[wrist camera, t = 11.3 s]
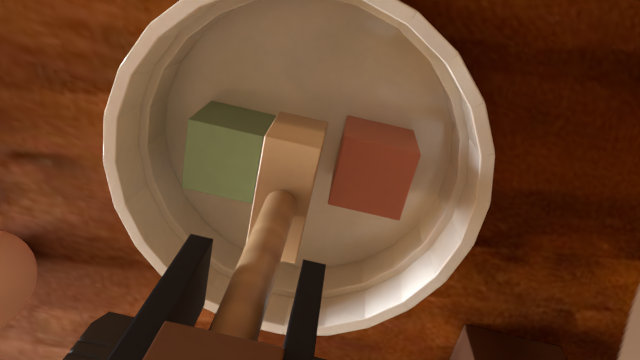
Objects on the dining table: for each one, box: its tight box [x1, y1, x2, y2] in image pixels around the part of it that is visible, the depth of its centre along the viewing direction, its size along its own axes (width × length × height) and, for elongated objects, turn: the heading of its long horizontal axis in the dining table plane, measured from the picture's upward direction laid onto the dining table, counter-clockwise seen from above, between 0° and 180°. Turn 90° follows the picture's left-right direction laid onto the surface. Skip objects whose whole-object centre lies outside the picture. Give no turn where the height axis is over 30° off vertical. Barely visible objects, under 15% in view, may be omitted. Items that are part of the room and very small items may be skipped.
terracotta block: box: [328, 115, 421, 221], centre depth 27 cm, size 4×4×4 cm
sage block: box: [181, 101, 277, 204], centre depth 27 cm, size 4×4×4 cm
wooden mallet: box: [143, 111, 328, 360], centre depth 17 cm, size 6×3×17 cm, turn 168°
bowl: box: [103, 0, 495, 336], centre depth 26 cm, size 19×19×6 cm
